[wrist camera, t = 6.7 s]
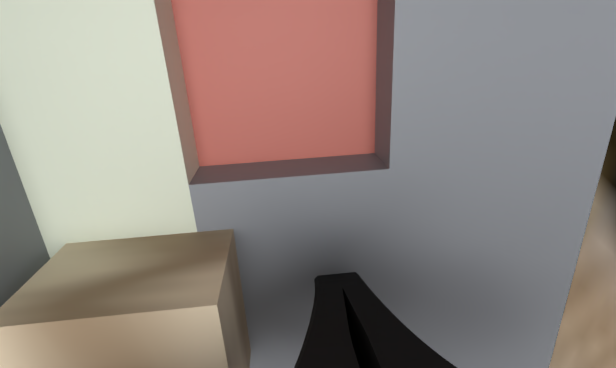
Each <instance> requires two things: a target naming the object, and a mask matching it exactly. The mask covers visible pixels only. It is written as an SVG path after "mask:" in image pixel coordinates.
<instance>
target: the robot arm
mask: <svg viewBox="0 0 616 368" xmlns="http://www.w3.org/2000/svg"><path fill="white" fill-rule="evenodd" d="M314 283H315V297H314V304H313V309H312V313H311V318H310V322H309V326H308V329H307V332H306V336H305V339H304V342H303V345H302V348H301V351H300V354H299V356H298V359H297V362H296V364H295V366H294V368H457V367H456V366H454V365H453V364H451V363H450V362H449V361H447V360H446V359H444V358H443V357H442V356H441V355H439V354H438V353H437V352H435V351H434V350H433V349H432V348H430V347H429V346H428V345H427V344H426V343H424V342H423V341H422V340H421V339H420V338H418V337H417V336H416V335H415V334H414V333H413V332H412V331H411V330H410V329H409V328H407V327H406V326H405V325H404V324H403V323H402V322H401V321H400V320H399V319H398V318H397V317H396V316H395V315H394V314H393V313H392V312H391V311H390V310H389V309H388V308H387V307H386V306H385V305H384V304H383V303H382V302H381V300H380V299H379V298H378V297H377V296H376V295H375V294H374V293H373V291H372V290H371V289H370V288H369V287H368V286H367V284H366V283H365V282H364V281H363V279H362V278H361V277H360V276H359V275H358V274H357V273H356V272H349V273H339V274H329V275H318V276H317V277H316V278H315V279H314Z"/></svg>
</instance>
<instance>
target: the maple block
mask: <svg viewBox="0 0 616 368" xmlns="http://www.w3.org/2000/svg"><path fill="white" fill-rule="evenodd" d="M250 356H251V348H250V341H249V334H248V327H247V320H246V314H245V307H244V300H243V293H242V286H241V279H240V272H239V265H238V258H237V251H236V244H235V238H234V231H233V229H225V230H214V231H203V232H191V233H180V234H169V235H157V236H146V237H134V238H123V239H112V240H100V241H89V242H78V243H66V244H65V245H64V246H63V247H62V248H61V249H60V250H59V251H58V252H57V253H56V254H55V255H54V256H53V257H52V258H51V259H50V260H49V261H48V262H47V263H46V264H44V265H43V266H42V267H41V268H40V269H39V270H38V271H37V272H36V273H35V274H34V275H33V276H32V277H31V278H30V279H29V280H28V281H27V282H26V283H25V284H24V285H23V286H22V287H21V288H20V289H19V290H18V291H17V292H16V293H15V294H14V295H13V296H12V297H11V298H10V299H8V300H7V301H6V302H5V303H4V304H3V305H2V306H1V307H0V368H250Z"/></svg>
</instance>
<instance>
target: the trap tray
mask: <svg viewBox="0 0 616 368" xmlns="http://www.w3.org/2000/svg"><path fill="white" fill-rule="evenodd" d="M615 117H616V0H0V307H1V306H2V305H3V304H4V303H5V302H6V301H7V300H8V299H10V298H11V297H12V296H13V295H14V294H15V293H16V292H17V291H18V290H19V289H20V288H21V287H22V286H23V285H24V284H25V283H26V282H27V281H28V280H29V279H30V278H31V277H32V276H33V275H34V274H35V273H36V272H37V271H38V270H39V269H40V268H41V267H42V266H43V265H44V264H46V263H47V262H48V261H49V260H50V259H51V258H52V257H53V256H54V255H55V254H56V253H57V252H58V251H59V250H60V249H61V248H62V247H63V246H64V245H65V244H66V243H78V242H89V241H100V240H112V239H123V238H134V237H146V236H157V235H169V234H180V233H191V232H203V231H214V230H225V229H233V231H234V238H235V244H236V251H237V258H238V265H239V272H240V279H241V286H242V293H243V300H244V307H245V314H246V320H247V327H248V334H249V341H250V348H251V356H250V368H294V366H295V364H296V362H297V359H298V356H299V354H300V351H301V348H302V345H303V342H304V339H305V336H306V332H307V329H308V326H309V322H310V318H311V313H312V309H313V304H314V297H315V283H314V279H315V278H316V277H317V276H318V275H329V274H339V273H349V272H356V273H357V274H358V275H359V276H360V277H361V278H362V279H363V281H364V282H365V283H366V284H367V286H368V287H369V288H370V289H371V290H372V291H373V293H374V294H375V295H376V296H377V297H378V298H379V299H380V300H381V302H382V303H383V304H384V305H385V306H386V307H387V308H388V309H389V310H390V311H391V312H392V313H393V314H394V315H395V316H396V317H397V318H398V319H399V320H400V321H401V322H402V323H403V324H404V325H405V326H406V327H407V328H409V329H410V330H411V331H412V332H413V333H414V334H415V335H416V336H417V337H418V338H420V339H421V340H422V341H423V342H424V343H426V344H427V345H428V346H429V347H430V348H432V349H433V350H434V351H435V352H437V353H438V354H439V355H441V356H442V357H443V358H444V359H446V360H447V361H449V362H450V363H451V364H453V365H454V366H456V367H457V368H549V365H550V361H551V358H552V354H553V350H554V346H555V343H556V339H557V335H558V331H559V327H560V324H561V320H562V316H563V312H564V309H565V305H566V301H567V297H568V294H569V290H570V286H571V282H572V279H573V275H574V271H575V267H576V264H577V260H578V256H579V252H580V249H581V245H582V241H583V237H584V234H585V230H586V226H587V222H588V219H589V215H590V211H591V207H592V204H593V200H594V196H595V192H596V189H597V185H598V181H599V177H600V173H601V170H602V166H603V162H604V158H605V155H606V151H607V147H608V143H609V140H610V136H611V132H612V128H613V125H614V121H615Z"/></svg>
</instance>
